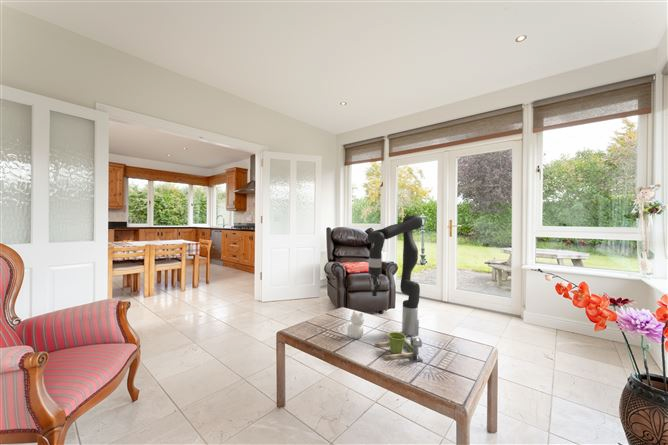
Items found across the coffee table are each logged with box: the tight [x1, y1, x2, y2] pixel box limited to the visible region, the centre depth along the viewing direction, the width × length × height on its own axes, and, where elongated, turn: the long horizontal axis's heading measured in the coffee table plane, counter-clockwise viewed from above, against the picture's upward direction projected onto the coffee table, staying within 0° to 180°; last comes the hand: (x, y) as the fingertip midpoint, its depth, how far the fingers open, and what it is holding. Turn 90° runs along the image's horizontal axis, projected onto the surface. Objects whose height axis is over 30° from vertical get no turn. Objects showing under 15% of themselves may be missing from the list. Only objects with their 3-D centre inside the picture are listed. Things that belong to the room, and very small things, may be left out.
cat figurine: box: [347, 310, 365, 340], centre depth 160 cm, size 9×12×15 cm
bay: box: [374, 339, 419, 361], centre depth 143 cm, size 18×15×3 cm
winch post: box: [407, 335, 424, 363], centre depth 135 cm, size 7×5×13 cm
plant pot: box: [387, 331, 406, 354], centre depth 143 cm, size 9×9×9 cm
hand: (374, 295), depth 154 cm, fingers closed
